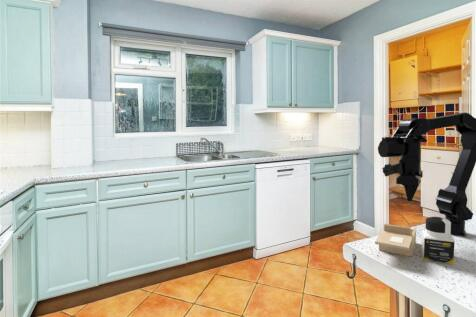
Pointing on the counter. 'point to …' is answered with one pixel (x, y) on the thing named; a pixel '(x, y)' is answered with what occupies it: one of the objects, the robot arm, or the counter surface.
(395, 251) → the mailer box
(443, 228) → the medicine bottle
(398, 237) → the lid
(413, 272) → the counter surface
